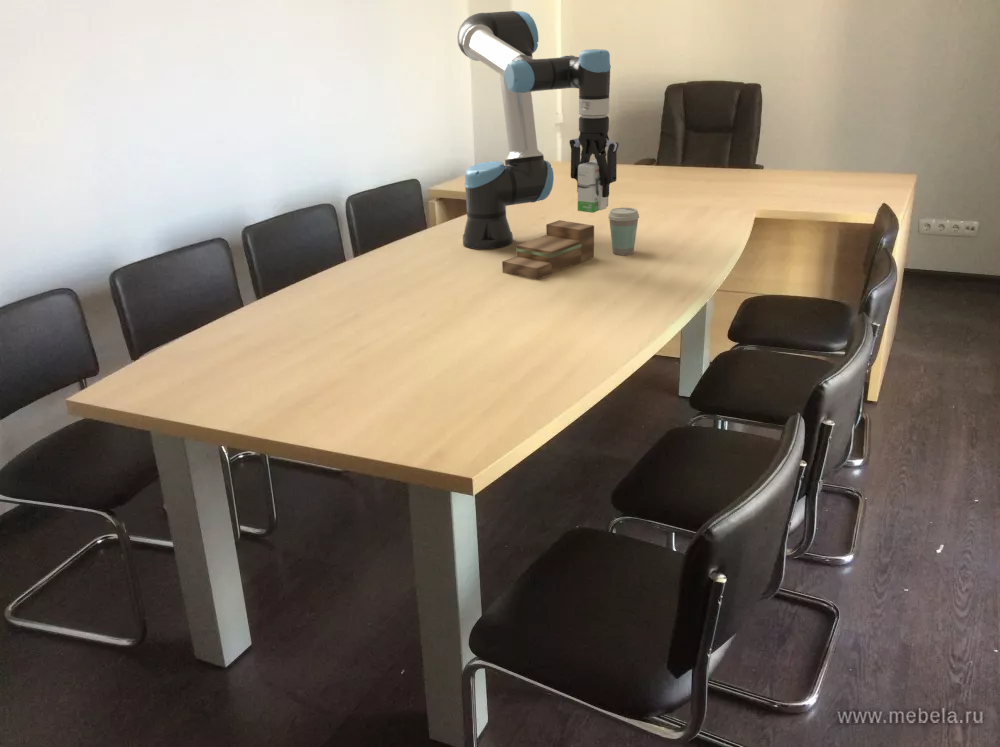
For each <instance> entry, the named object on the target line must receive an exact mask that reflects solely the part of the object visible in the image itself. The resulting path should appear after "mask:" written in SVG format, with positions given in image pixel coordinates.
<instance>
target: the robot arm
mask: <svg viewBox="0 0 1000 747" xmlns="http://www.w3.org/2000/svg"><path fill="white" fill-rule="evenodd" d="M457 44H458V47H459V49H460V51H461V52H462V53H463V55H464V56H466V57H467V58H469V60H472V61H475V62H482V64H485V65H486V66H487V67H489V68H490V69H492V70H493V71H494V72H496V73H498V74H499V79H500V86H501V88H500V89H501V96H502V104H503V112H504V123H505V128H506V129H505V131H506V136H507V146H508V154H507V156H506V157H505V158H504V162H505V164H504V162H503V161H499V160H493V161H485V162H484V161H483V162H480V163H476V164H474V165H471V166H470V167H468V168H467V169H466V171H465V174H464V178H465V179H464V187H465V202H466V216H467V217H466V223H465V226H464V233H463V234H462V245H463V246H464V247H466V248H469V249H476V250H493V249H500V248H504V247H507V246H510V245H511V244H513V243H514V235H513V232H512V231H511V227H510V224H509V221H508V218H507V206H514V205H521V204H528V203H536V202H539V201H544V200H546V199H548V197H549V196H550V194H551V192H552V190H553V187H554V186H553V185H554V169H553V167H552V164H551V162H549V161H548V160H545V158H544V154H543V152H542V151H540V150H539V149H538V140H537V133H536V124H535V123H536V122H535V113H534V104H533V97H532V96H533V95H532V93H534V92H542V91H550V90H551V91H552V90H562V89H577V90H578V89H579V90H578V115H580V117H579V118H578V132H579V136H578V137H577V138H573V139H570V140H569V146H570V178H571V179H574V180H575V181H576V186H577V189H576V191H577V192H576V193H578V166H579V165H580V164H583V163H587V162H590V161H591V157H592V155H593V156H594V158H595V159H596V160H595V161H597V164H598V166H599V174H600V179H601V183H600V185H599V198H598V210H599V212H601V211H603V210H606V209H607V208H608V207H607V197H608V198H609V196H610V184H612V183H614V182H617V167H618V166H617V159H618V158H617V155H618V154H617V152H618V149H619V142H613V141H612V140H610V137H609V134H608V133H609V131H610V118H609V116H608V115H609V114H610V90H611V89H610V88H611V87H610V85H611V68H612V67H611V56H610V51H609V50H607V49H583V50H581V51H580V52H579V56H575V55H571V54H570V55H564V56H560V57H550V58H533V54H534V53H535V52H536V51H537V49H538V47H539V30H538V28H537V24H536V21H535V20H534V18H533V16H531V14H529V13H528V12H526V11H518V10H509V11H508V10H507V11H497V12H496V11H494V12H478V13H474V14H472V15H469V16H468V17H467V18H466V19H465V20H464V21H463V22H462V24H461V25H460V26H459V29H458V31H457ZM606 150H607V152H606Z"/></svg>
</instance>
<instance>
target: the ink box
mask: <svg viewBox="0 0 1000 747" xmlns="http://www.w3.org/2000/svg"><path fill="white" fill-rule="evenodd" d="M600 183H601V179H600V174H599V166H598V164H597V160H594V159H593V160H590V161H589V162H587V163H583V164H580V165H579V166H578V192H577V211H578V212H584V213H593V214H595V213H596V212H598V211H599V212H600V210H598V198H599V185H600ZM608 207H609V196H608V197H607V208H608Z"/></svg>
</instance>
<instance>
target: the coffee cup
mask: <svg viewBox="0 0 1000 747" xmlns="http://www.w3.org/2000/svg"><path fill="white" fill-rule="evenodd" d="M639 218H640V214H639V211H638V209H637V208H634V207H615V208H612V209H610V211H609V214H608V219H609V220H608V221H609V226H610V227H609V228H610V230H609V231H610V238H611V247H612V253H613V254H614V255H616V256H629V254H630V255H632V254H634V250H635V243H636V237H637V231H638V221H639Z"/></svg>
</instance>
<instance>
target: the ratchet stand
mask: <svg viewBox="0 0 1000 747" xmlns="http://www.w3.org/2000/svg"><path fill="white" fill-rule="evenodd" d="M545 226H546V228H545V230H546V234H545V235H543V236H540V237H537V238H534V239H532V240H531V239H530V240H528V241H525V242H523V243H519V244H517V245H516V246H515V247H516V248H515V251H516V256H513V257H511V258H507V259H505V260H502V262H501V264H502V266H501V268H502V269H501V270H502V273H504V274H510V275H514V276H519V277H523V278H529V279H532V280H539V279H540V280H541V279H543V278H544V277H547V276H550V275H553V274H555V273H558V272H560V271H563V270H566V269H569V268H570V267H573V266H575V265H577V264H581V263H583V262H586V261H588V260H591V259H594V258H595V225H593V224H588V223H587V224H585V223H580V222H574V221H566V220H556V221H553V222H550V223H547V224H546V225H545Z"/></svg>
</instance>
